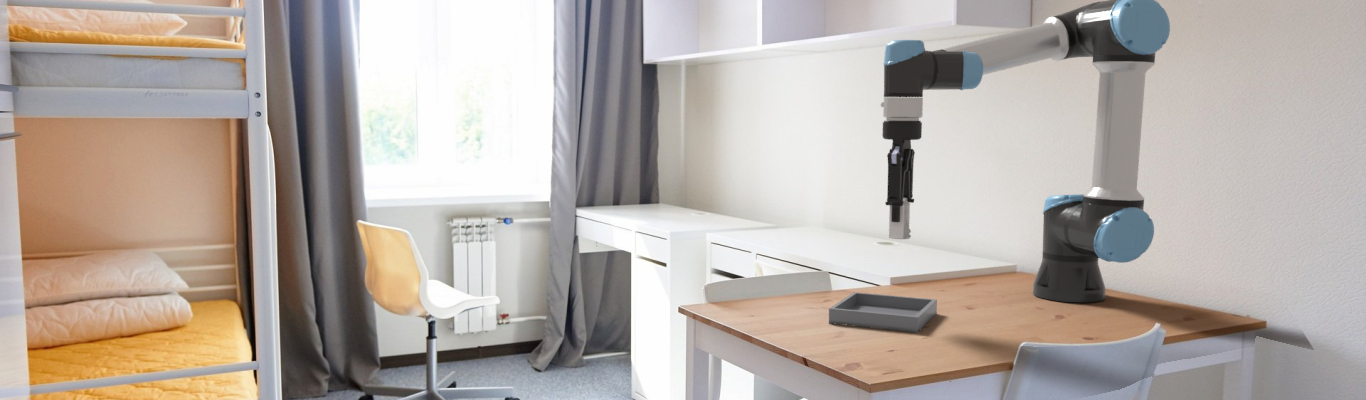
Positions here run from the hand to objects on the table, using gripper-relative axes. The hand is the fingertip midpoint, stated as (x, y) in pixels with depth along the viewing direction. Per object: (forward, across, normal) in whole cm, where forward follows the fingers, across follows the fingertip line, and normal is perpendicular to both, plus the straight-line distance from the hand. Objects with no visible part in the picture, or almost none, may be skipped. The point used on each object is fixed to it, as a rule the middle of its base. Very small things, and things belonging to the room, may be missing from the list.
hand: (899, 236), depth 188 cm
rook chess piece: (0, 0, 0) cm, 0 cm away
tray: (+17, 0, -3) cm, 17 cm away
